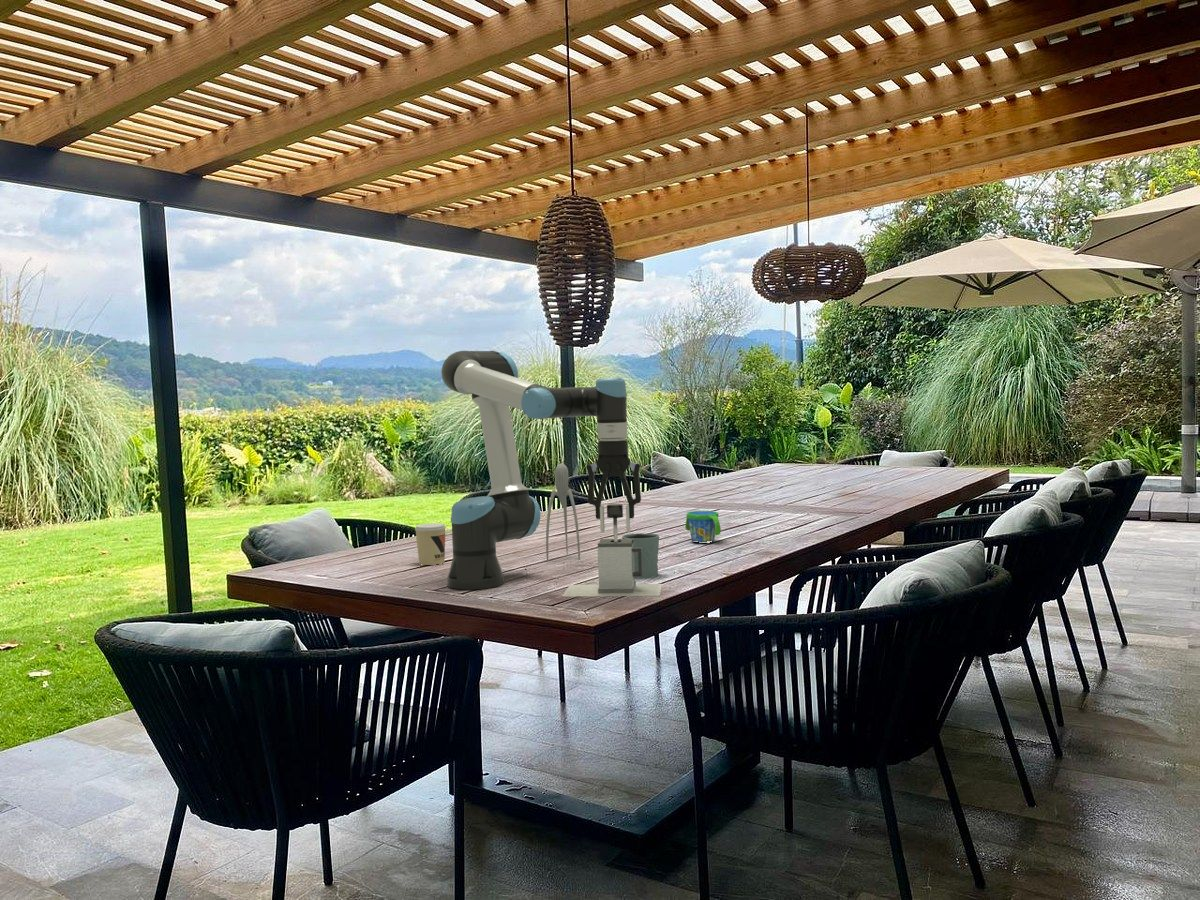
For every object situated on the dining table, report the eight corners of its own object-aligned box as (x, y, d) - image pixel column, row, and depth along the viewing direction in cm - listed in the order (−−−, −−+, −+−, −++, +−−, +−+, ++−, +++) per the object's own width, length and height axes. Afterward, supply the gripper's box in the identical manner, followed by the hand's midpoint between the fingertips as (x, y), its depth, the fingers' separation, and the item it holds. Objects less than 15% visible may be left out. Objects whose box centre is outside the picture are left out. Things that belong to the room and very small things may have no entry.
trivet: (562, 601, 225) (562, 596, 225) (570, 589, 239) (569, 584, 239) (659, 600, 223) (659, 595, 223) (662, 588, 237) (661, 583, 237)
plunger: (603, 579, 229) (601, 506, 228) (606, 575, 235) (604, 503, 234) (627, 579, 228) (625, 506, 227) (629, 574, 234) (627, 503, 233)
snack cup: (729, 543, 304) (729, 513, 304) (703, 547, 299) (702, 516, 299) (702, 538, 318) (702, 509, 317) (677, 541, 313) (676, 511, 312)
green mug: (629, 584, 244) (628, 539, 243) (618, 577, 253) (617, 534, 253) (665, 580, 246) (664, 536, 246) (653, 574, 256) (651, 531, 255)
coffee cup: (437, 566, 279) (436, 527, 278) (410, 565, 282) (409, 527, 281) (452, 561, 288) (451, 523, 287) (426, 560, 291) (424, 522, 290)
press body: (598, 593, 227) (596, 544, 227) (601, 586, 236) (600, 538, 236) (641, 592, 226) (640, 543, 226) (643, 585, 235) (642, 538, 234)
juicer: (583, 555, 290) (580, 461, 289) (580, 560, 281) (576, 463, 280) (551, 556, 291) (547, 462, 290) (546, 561, 282) (543, 464, 281)
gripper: (573, 441, 227) (576, 534, 228) (649, 439, 225) (652, 533, 226) (577, 440, 234) (580, 530, 235) (651, 438, 232) (653, 528, 233)
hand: (615, 531), depth 231 cm, fingers open, 6 cm apart
